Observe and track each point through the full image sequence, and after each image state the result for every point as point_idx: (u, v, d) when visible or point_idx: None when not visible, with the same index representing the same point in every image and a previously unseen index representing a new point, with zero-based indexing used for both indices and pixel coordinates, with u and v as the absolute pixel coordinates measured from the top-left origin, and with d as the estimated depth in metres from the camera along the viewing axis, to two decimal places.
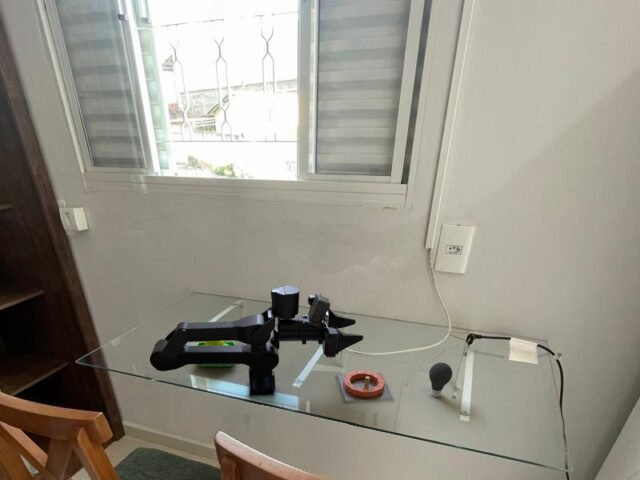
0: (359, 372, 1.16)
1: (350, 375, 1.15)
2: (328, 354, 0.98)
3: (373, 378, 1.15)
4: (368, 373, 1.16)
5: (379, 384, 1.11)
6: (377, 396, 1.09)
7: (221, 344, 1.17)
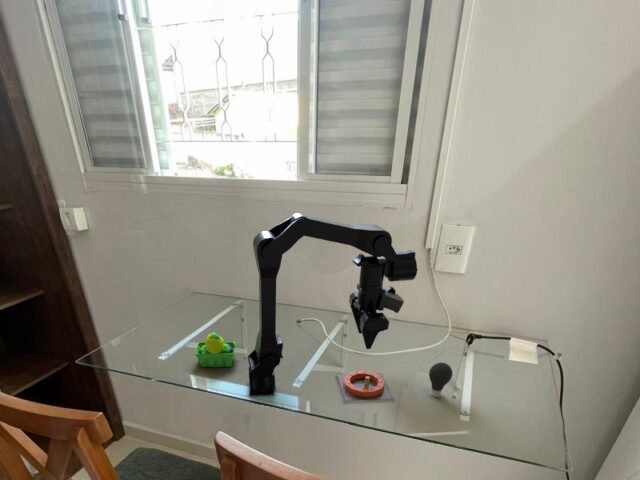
0: (359, 372, 1.16)
1: (350, 375, 1.15)
2: (368, 323, 0.97)
3: (373, 378, 1.15)
4: (368, 373, 1.16)
5: (379, 384, 1.11)
6: (377, 396, 1.09)
7: (221, 344, 1.17)
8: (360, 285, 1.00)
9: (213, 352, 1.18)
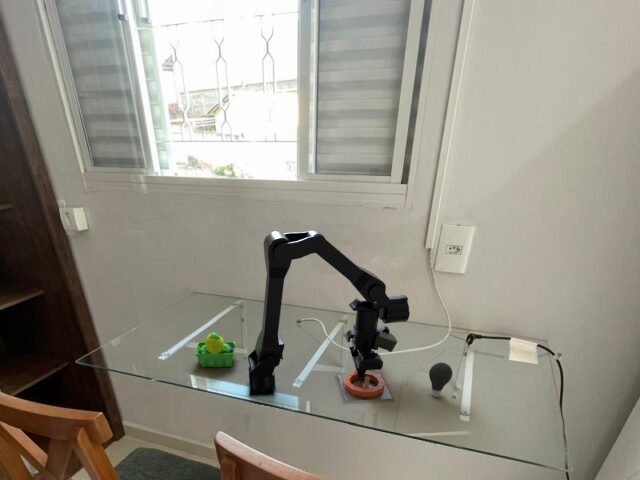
0: None
1: (350, 375, 1.15)
2: (363, 364, 1.04)
3: (373, 378, 1.15)
4: (368, 373, 1.16)
5: (379, 384, 1.11)
6: (377, 396, 1.09)
7: (221, 344, 1.17)
8: (356, 327, 1.07)
9: (213, 352, 1.18)
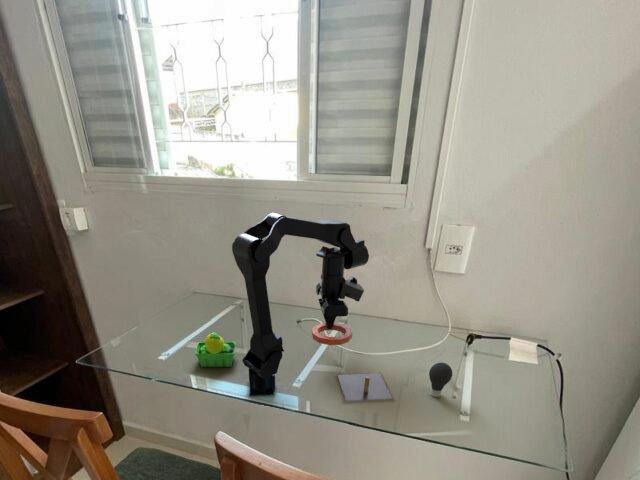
0: None
1: (319, 326, 1.16)
2: (328, 310, 1.05)
3: (341, 329, 1.16)
4: (337, 324, 1.17)
5: (346, 333, 1.12)
6: (377, 396, 1.09)
7: (221, 344, 1.17)
8: (322, 275, 1.08)
9: (213, 352, 1.18)
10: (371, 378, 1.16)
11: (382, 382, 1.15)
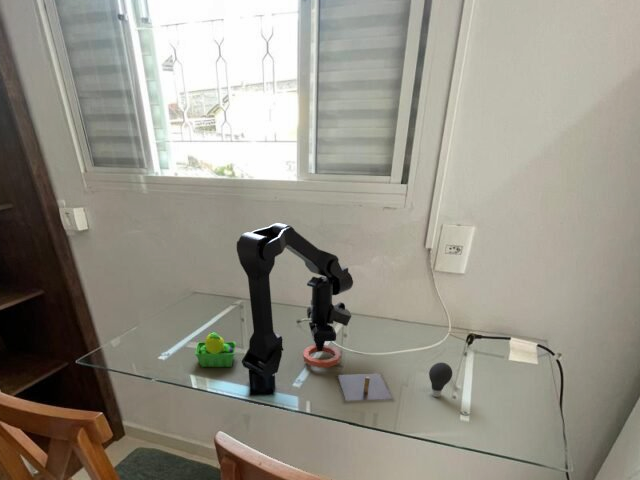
0: None
1: (309, 348, 1.23)
2: (318, 335, 1.12)
3: (331, 351, 1.23)
4: (326, 347, 1.24)
5: (335, 356, 1.19)
6: (377, 396, 1.09)
7: (221, 344, 1.17)
8: (312, 302, 1.15)
9: (213, 352, 1.18)
10: (371, 378, 1.16)
11: (382, 382, 1.15)
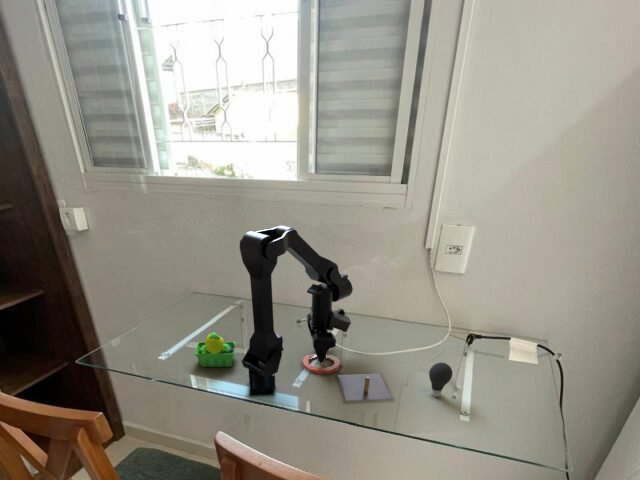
0: None
1: (309, 356, 1.25)
2: (318, 342, 1.13)
3: (330, 359, 1.25)
4: None
5: (334, 364, 1.21)
6: (377, 396, 1.09)
7: (221, 344, 1.17)
8: (312, 308, 1.16)
9: (213, 352, 1.18)
10: (371, 378, 1.16)
11: (382, 382, 1.15)
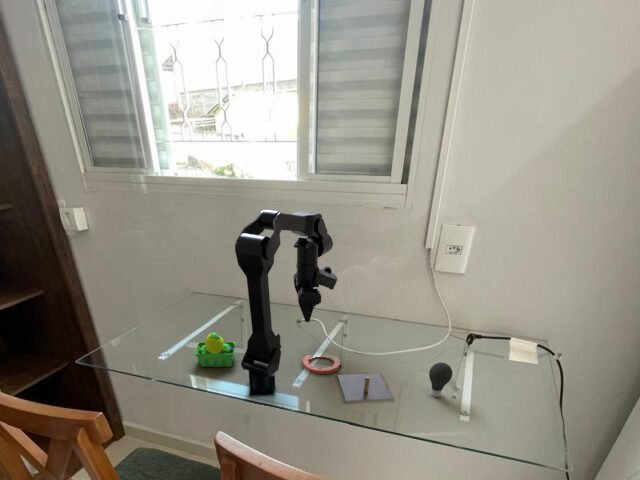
0: None
1: (309, 356, 1.25)
2: (302, 297, 1.10)
3: (330, 359, 1.25)
4: None
5: (334, 364, 1.21)
6: (377, 396, 1.09)
7: (221, 344, 1.17)
8: (297, 264, 1.14)
9: (213, 352, 1.18)
10: (371, 378, 1.16)
11: (382, 382, 1.15)
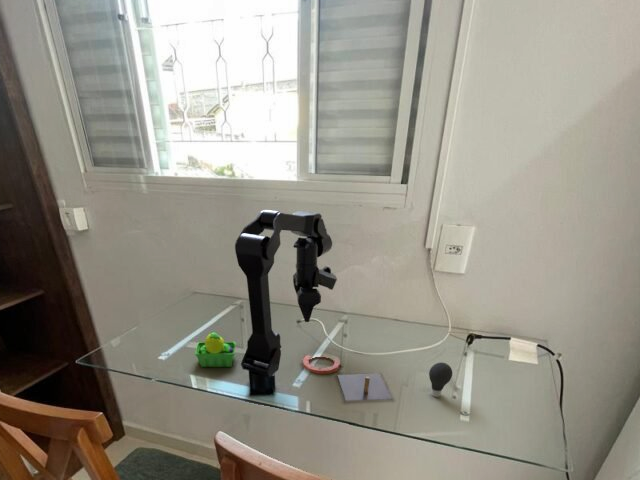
0: None
1: (309, 356, 1.25)
2: (302, 297, 1.10)
3: (330, 359, 1.25)
4: None
5: (334, 364, 1.21)
6: (377, 396, 1.09)
7: (221, 344, 1.17)
8: (297, 264, 1.14)
9: (213, 352, 1.18)
10: (371, 378, 1.16)
11: (382, 382, 1.15)
